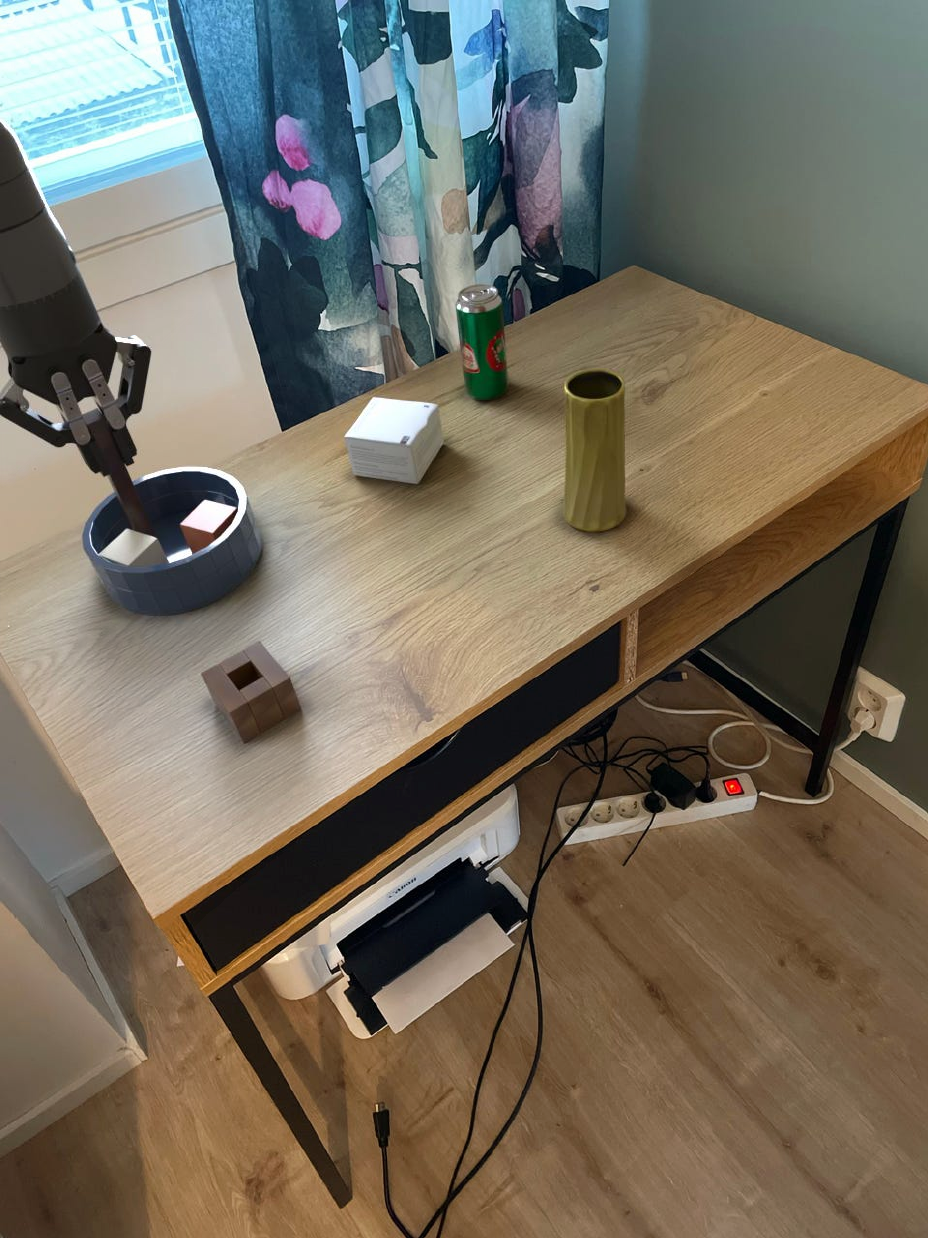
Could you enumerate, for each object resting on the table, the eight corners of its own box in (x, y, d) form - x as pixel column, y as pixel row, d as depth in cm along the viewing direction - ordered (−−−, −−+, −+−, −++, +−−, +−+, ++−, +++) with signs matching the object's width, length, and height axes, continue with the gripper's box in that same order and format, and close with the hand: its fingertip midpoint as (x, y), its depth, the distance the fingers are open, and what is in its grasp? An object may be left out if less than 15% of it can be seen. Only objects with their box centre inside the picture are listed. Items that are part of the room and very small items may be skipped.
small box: (381, 434, 101) (373, 394, 97) (445, 443, 98) (440, 402, 94) (351, 476, 96) (341, 435, 92) (419, 486, 93) (411, 445, 90)
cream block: (145, 596, 85) (128, 565, 82) (114, 585, 86) (97, 554, 83) (172, 568, 87) (157, 537, 84) (142, 558, 88) (126, 527, 86)
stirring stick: (144, 550, 88) (86, 425, 75) (137, 541, 88) (79, 415, 75) (159, 543, 88) (104, 417, 75) (152, 533, 89) (97, 407, 76)
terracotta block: (225, 564, 87) (212, 533, 84) (192, 555, 88) (179, 524, 85) (248, 538, 89) (237, 507, 86) (216, 530, 91) (204, 499, 88)
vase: (553, 503, 89) (548, 376, 79) (609, 486, 90) (611, 358, 80) (578, 540, 85) (576, 410, 75) (637, 521, 86) (643, 391, 76)
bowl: (140, 641, 81) (117, 598, 77) (82, 556, 91) (59, 514, 87) (289, 561, 87) (275, 518, 83) (220, 490, 96) (204, 447, 92)
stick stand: (243, 744, 72) (229, 713, 69) (215, 704, 75) (200, 673, 72) (301, 708, 74) (290, 677, 71) (271, 671, 77) (259, 640, 74)
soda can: (460, 385, 106) (448, 288, 97) (500, 375, 107) (492, 278, 98) (473, 407, 103) (462, 308, 94) (514, 396, 103) (507, 297, 95)
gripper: (95, 231, 71) (170, 417, 84) (-79, 294, 66) (27, 481, 79) (130, 260, 67) (203, 451, 79) (-55, 329, 62) (54, 521, 74)
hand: (115, 465), depth 79 cm, fingers closed on stirring stick
